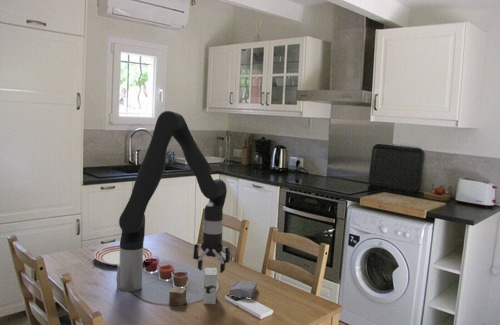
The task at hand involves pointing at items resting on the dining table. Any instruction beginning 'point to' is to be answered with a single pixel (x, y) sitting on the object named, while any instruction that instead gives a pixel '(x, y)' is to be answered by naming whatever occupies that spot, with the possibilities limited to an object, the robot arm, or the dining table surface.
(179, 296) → the walnut block
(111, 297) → the dining table surface
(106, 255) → the dinner plate
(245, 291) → the stone block
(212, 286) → the ink box
